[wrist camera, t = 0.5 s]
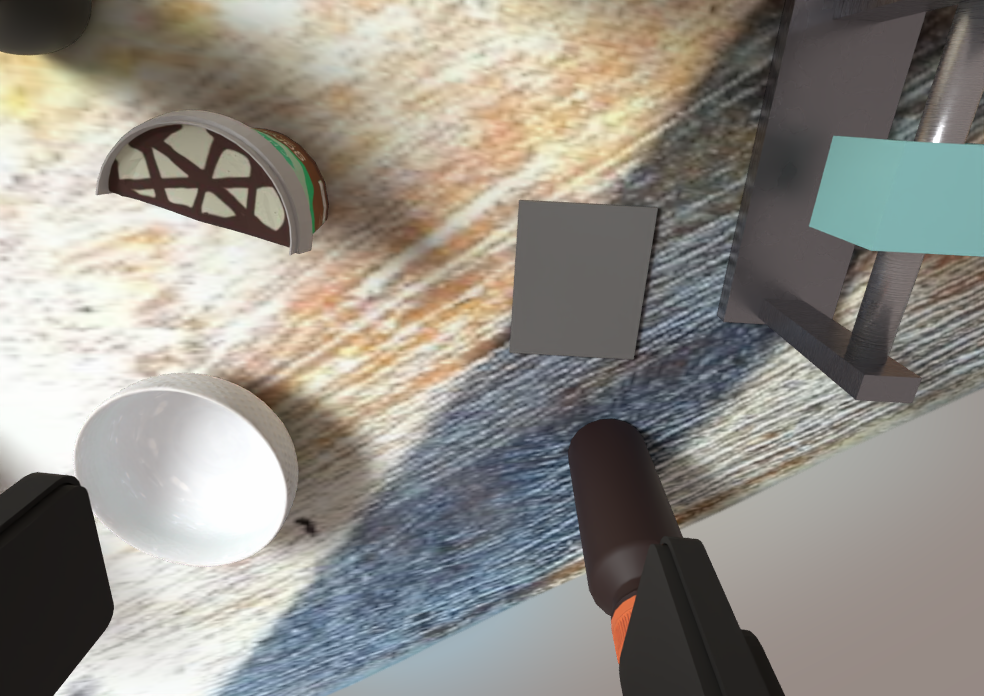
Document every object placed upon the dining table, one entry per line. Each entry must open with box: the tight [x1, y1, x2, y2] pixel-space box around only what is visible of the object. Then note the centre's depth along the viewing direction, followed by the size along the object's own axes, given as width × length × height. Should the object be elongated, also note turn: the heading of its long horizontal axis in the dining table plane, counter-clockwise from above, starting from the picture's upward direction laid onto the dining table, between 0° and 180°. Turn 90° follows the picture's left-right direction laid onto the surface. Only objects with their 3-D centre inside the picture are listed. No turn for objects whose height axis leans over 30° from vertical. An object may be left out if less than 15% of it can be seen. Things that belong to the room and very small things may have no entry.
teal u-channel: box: [809, 136, 984, 257], centre depth 29 cm, size 5×6×6 cm
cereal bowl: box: [73, 373, 299, 567], centre depth 46 cm, size 17×17×7 cm
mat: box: [510, 200, 658, 359], centre depth 43 cm, size 12×10×1 cm
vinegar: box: [568, 419, 683, 663], centre depth 40 cm, size 7×7×20 cm
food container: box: [96, 110, 329, 255], centre depth 36 cm, size 12×6×10 cm, turn 72°
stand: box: [717, 0, 984, 403], centre depth 32 cm, size 22×8×14 cm, turn 177°
